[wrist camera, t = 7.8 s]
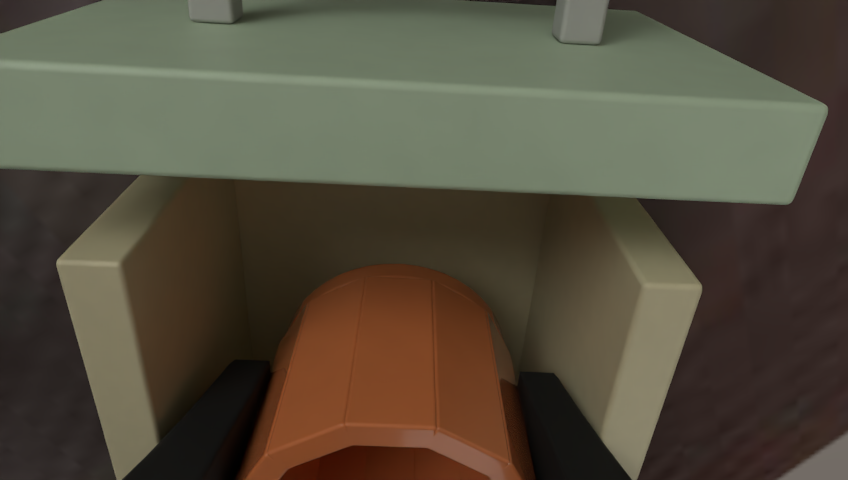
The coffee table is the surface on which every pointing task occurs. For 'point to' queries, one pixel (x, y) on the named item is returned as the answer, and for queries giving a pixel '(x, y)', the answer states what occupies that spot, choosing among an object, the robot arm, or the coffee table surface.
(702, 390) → the coffee table surface
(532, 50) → the drawer
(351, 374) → the tumbler
